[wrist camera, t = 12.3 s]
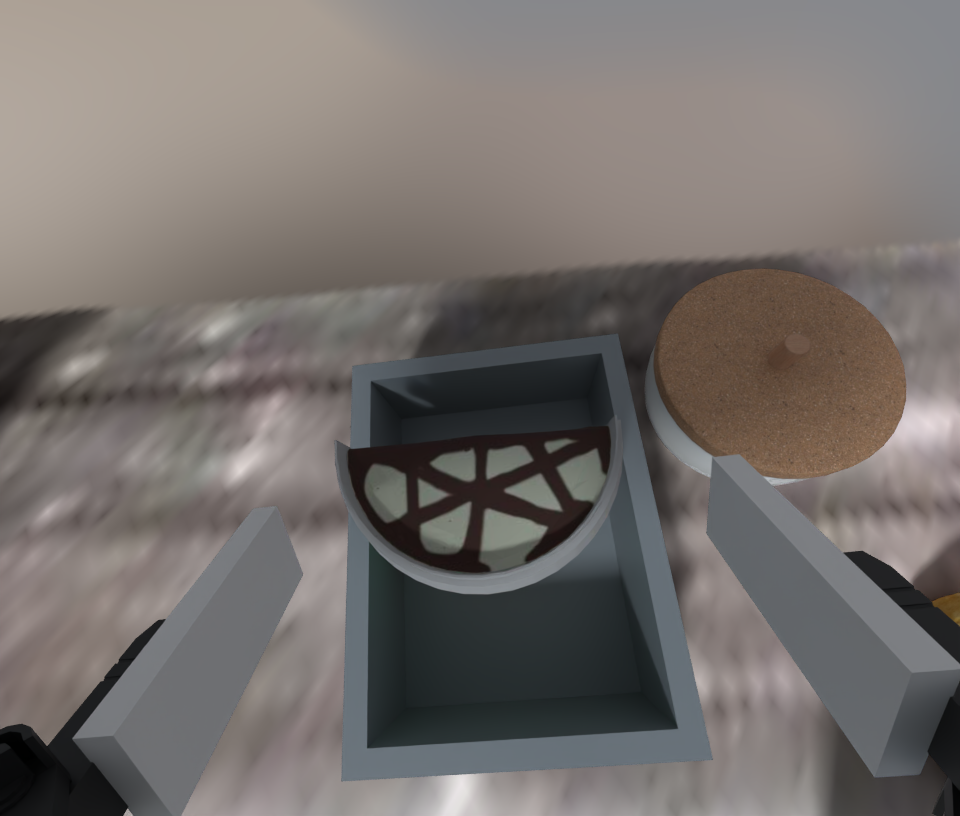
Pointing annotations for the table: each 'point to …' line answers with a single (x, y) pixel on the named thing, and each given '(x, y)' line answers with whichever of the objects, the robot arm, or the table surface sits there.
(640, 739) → the charcoal bin
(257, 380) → the table surface
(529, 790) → the table surface
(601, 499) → the food container
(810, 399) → the lidded jar
